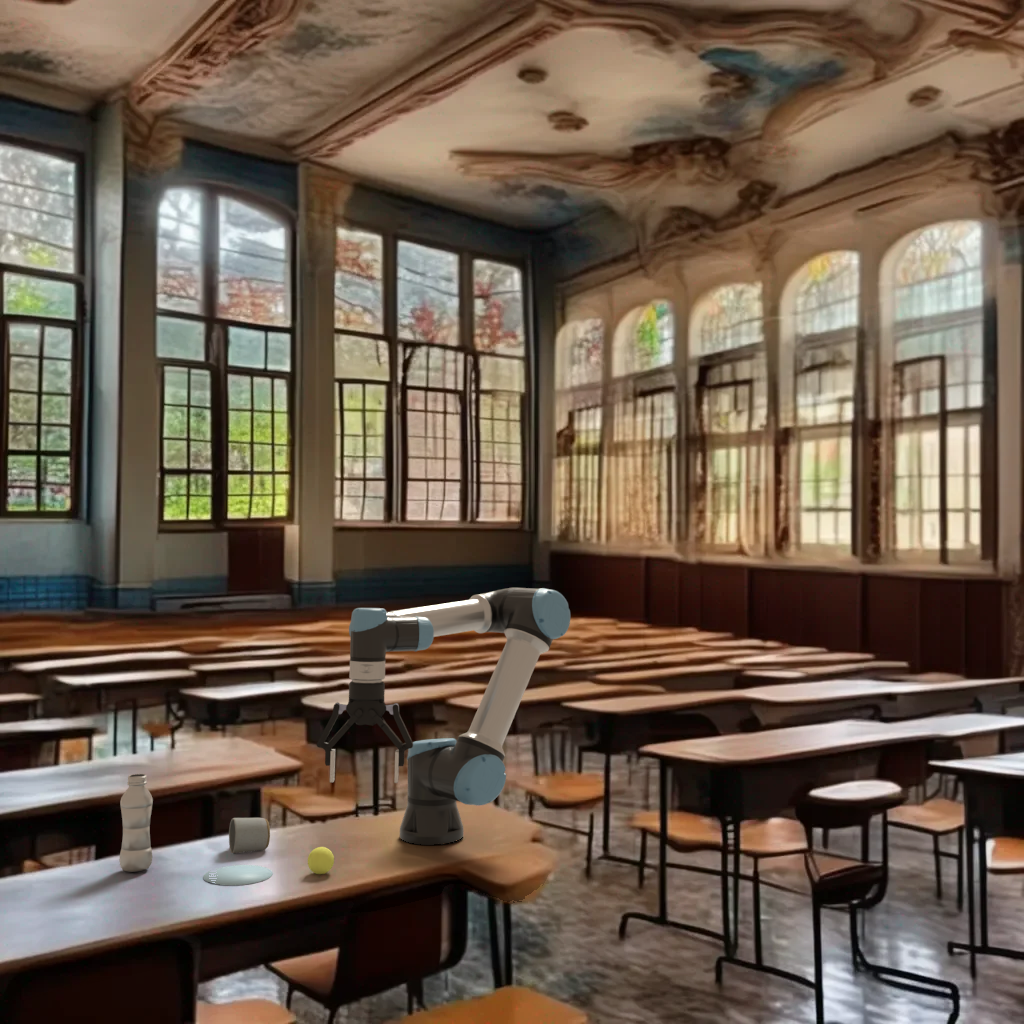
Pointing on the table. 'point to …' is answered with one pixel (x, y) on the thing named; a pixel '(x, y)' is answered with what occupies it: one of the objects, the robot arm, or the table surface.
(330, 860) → the ball
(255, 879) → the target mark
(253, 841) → the ceramic mug
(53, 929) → the table surface
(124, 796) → the plastic bottle
